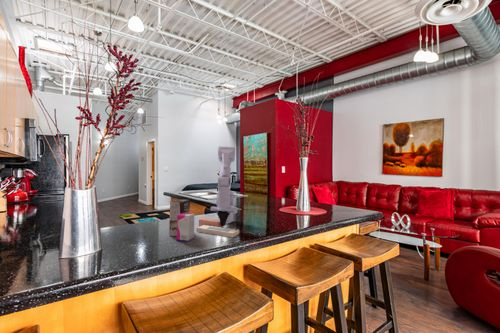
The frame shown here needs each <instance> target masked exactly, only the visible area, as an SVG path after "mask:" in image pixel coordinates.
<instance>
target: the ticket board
mask: <svg viewBox="0 0 500 333" xmlns="http://www.w3.org/2000/svg"><path fill="white" fill-rule="evenodd" d="M196 232H198V233H203V234H208V235H215V236H222V237H227V238H234V237H236V236H238V235H240V229H237V228H230V227H225V226H223V227H217V226H211V225H202V226H200V227H199V226H198V227H196Z"/></svg>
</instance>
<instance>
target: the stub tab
mask: <svg viewBox="0 0 500 333" xmlns="http://www.w3.org/2000/svg"><path fill="white" fill-rule="evenodd" d="M202 225H211V226H217V227H224V226H221V222H220V220H218V219H216V218H208V217H202V218H200V219H198V227H200V226H202Z"/></svg>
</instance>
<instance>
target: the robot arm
mask: <svg viewBox="0 0 500 333" xmlns="http://www.w3.org/2000/svg"><path fill="white" fill-rule="evenodd" d="M217 156H218V161H219V162H220V163H222V165H221V166H220V167H219V177H217V189H218V190H217V193H216V206H210V211H211V212H217V213H216V215H217V217H218V219H217V220H220V222H221V226H223V227H225V226H226V225H227V224H230V223H232V222H235V219H234V214H238V209H237V208H233V206H234V199H235V198H234V192H233V191H231V186H232V178H231V164H232V163H233V162H235V157H236V147H235V146H220V145H219V146H218V148H217Z"/></svg>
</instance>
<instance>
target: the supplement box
mask: <svg viewBox="0 0 500 333" xmlns="http://www.w3.org/2000/svg"><path fill="white" fill-rule="evenodd" d="M194 239H195V213H191V212H190V213H182V214H179V215H177V236H176V241H177V242H185V243H189V242H190V241H192V240H194Z"/></svg>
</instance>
